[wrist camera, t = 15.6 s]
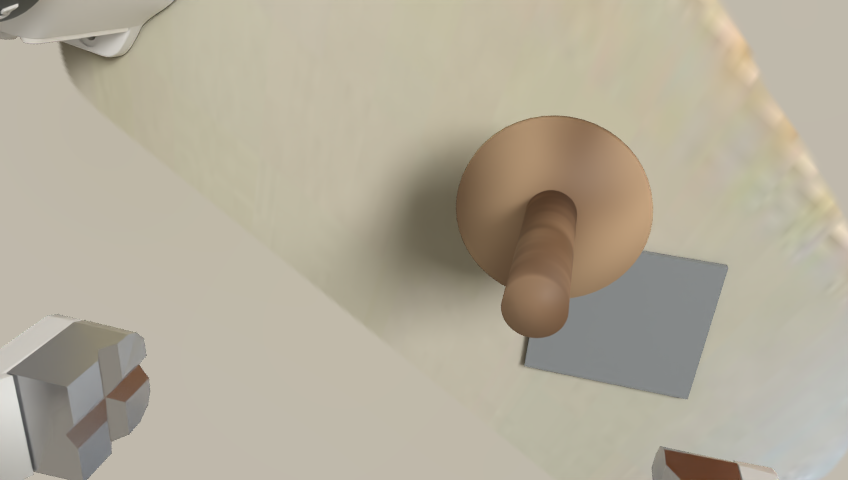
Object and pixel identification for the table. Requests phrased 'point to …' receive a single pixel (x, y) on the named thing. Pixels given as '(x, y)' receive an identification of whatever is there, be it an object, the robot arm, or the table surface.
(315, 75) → the table surface
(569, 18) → the table surface
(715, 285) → the mat
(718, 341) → the table surface
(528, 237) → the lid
